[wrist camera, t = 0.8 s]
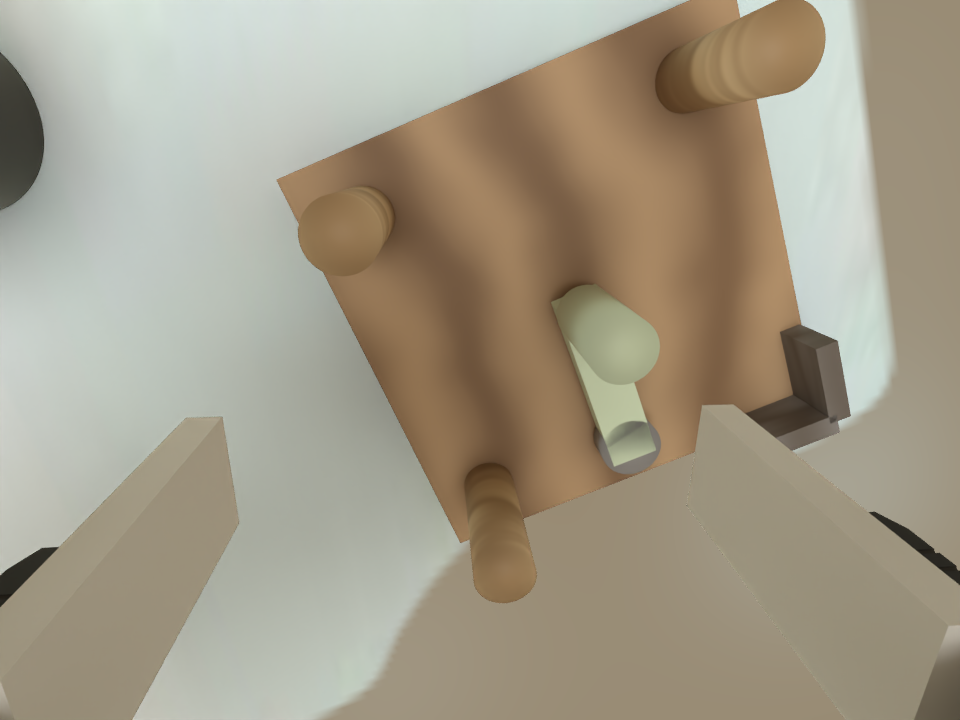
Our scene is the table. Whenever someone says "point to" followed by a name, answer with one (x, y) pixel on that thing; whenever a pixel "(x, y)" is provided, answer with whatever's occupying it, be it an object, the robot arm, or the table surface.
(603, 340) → the hinged leg
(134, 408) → the table surface
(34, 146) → the water bottle
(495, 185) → the stool seat
